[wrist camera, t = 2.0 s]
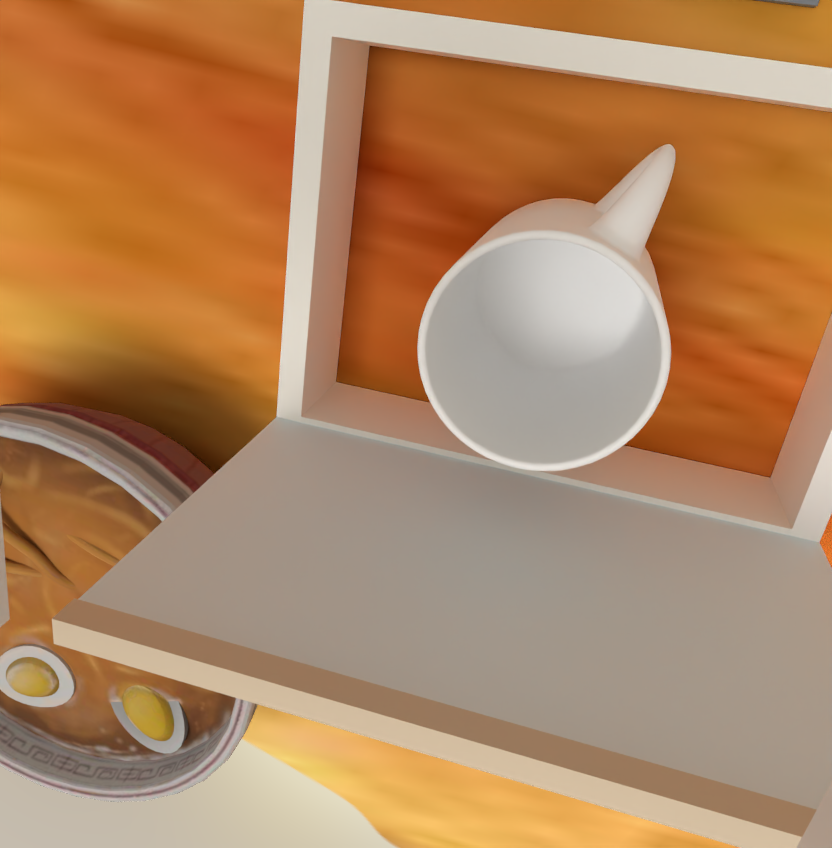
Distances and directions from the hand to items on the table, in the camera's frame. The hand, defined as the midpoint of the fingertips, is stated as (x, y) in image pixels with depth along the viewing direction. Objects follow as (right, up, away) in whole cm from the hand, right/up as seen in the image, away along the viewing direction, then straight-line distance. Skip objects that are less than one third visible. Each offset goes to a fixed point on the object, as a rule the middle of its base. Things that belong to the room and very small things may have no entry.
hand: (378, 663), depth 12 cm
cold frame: (+8, +11, +24) cm, 27 cm away
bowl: (-16, -3, +36) cm, 39 cm away
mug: (+8, +11, +24) cm, 27 cm away
